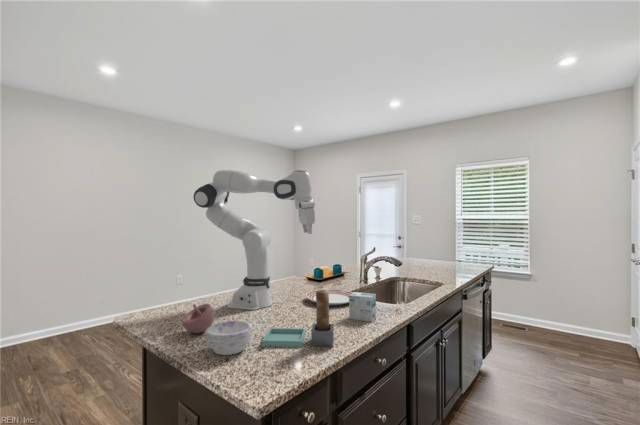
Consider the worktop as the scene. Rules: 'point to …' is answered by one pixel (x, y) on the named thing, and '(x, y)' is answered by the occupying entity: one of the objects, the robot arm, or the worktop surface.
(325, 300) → the dowel pin
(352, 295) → the light bulb box
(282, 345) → the tray
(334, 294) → the dinner plate
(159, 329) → the worktop surface
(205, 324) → the mortar and pestle
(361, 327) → the worktop surface
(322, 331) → the grey square socket base
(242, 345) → the paper bowls
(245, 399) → the worktop surface
